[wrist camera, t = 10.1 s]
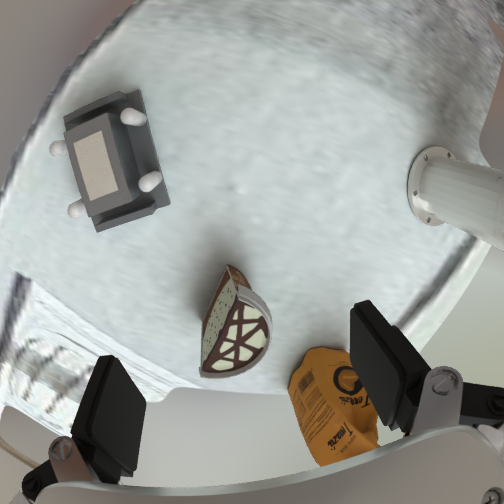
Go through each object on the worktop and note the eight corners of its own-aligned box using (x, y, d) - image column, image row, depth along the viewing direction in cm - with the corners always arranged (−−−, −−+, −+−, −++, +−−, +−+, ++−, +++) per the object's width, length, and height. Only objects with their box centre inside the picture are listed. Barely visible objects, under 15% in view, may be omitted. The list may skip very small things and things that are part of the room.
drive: (124, 117, 26) (106, 112, 21) (145, 190, 30) (131, 201, 24) (86, 133, 26) (62, 133, 21) (107, 204, 30) (88, 218, 24)
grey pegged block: (141, 90, 26) (128, 81, 21) (171, 202, 32) (164, 215, 27) (66, 123, 26) (43, 121, 20) (97, 227, 31) (79, 243, 26)
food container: (238, 340, 41) (247, 390, 32) (198, 329, 39) (199, 380, 30) (274, 269, 37) (297, 311, 28) (231, 254, 35) (241, 294, 26)
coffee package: (355, 346, 46) (417, 441, 25) (324, 393, 49) (366, 484, 29) (307, 341, 43) (363, 456, 23) (279, 392, 47) (312, 496, 27)
